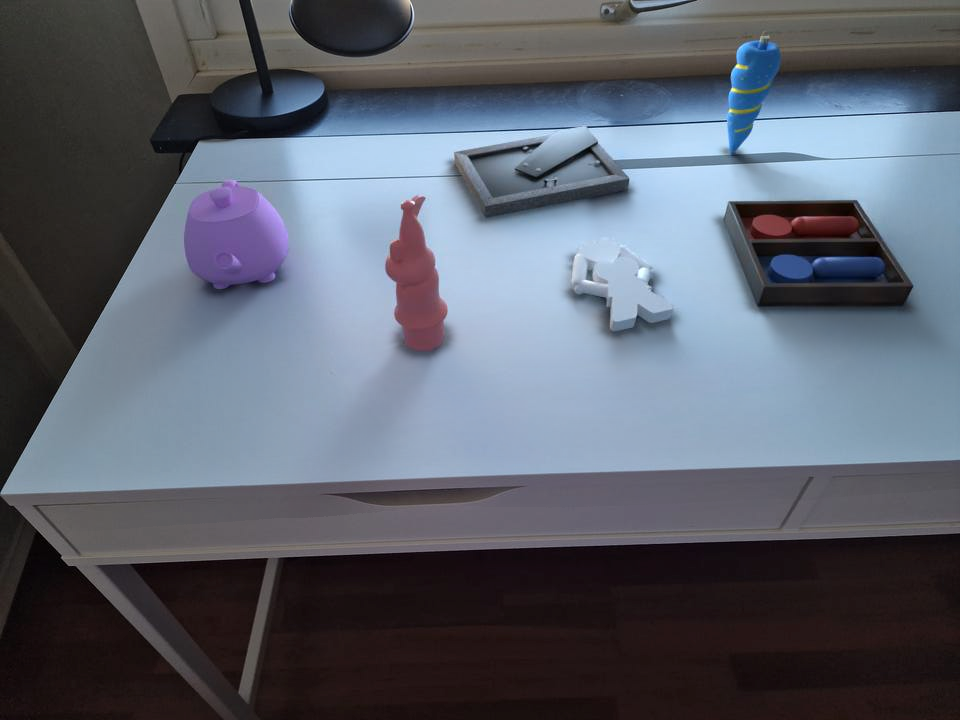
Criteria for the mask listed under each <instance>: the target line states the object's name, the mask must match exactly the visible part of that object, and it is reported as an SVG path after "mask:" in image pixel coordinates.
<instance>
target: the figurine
mask: <svg viewBox="0 0 960 720" xmlns="http://www.w3.org/2000/svg"><path fill="white" fill-rule="evenodd" d="M426 199H427V198H426V197H425V196H423V195H419V194H418V195H415V196H413V197H412V198H410V199H409V200H408V199H407V200H404V201H402V202H401V203H400V209H401V210H402V216H401V220H400V226H399V232H398V238H397V239H394V240H392V241H390V244H389V253H388V255H387V256H386V259H385V263H384V271H385V273H386V275H387V277H388V278H389V279H390V280H391V281H393V282H394V283H396V284H395V299H396V305H395V308H394V309H393V317H394V319H395V321H396V322H397V324H399V325H400V326H401V331H402V337H403V342H404V344H405V345H406V346H407V347H408V348H409V349H411V350H413V351H416V352H429V351H432V350H435V349H437V348H439V347H440V346H441V345H442V344H443V343H444V341H445V338H446V334H445V323H444V320H445V319H446V317H447V316H448V311H449V309H448V305H447V303H446V302H445V300H443V298H441V296H440V276H439V272H438V269H437V268H436V257H435V254H434V252H433V251H432V249H430V248H429V247H428V246H427V243H426V236H425V233H424V229H423V227H422V224H421V222H420V221H419V220H418V217H419V213H420V211H421V209H422V206H423V204H424V202H426Z"/></svg>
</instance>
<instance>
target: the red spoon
mask: <svg viewBox="0 0 960 720" xmlns="http://www.w3.org/2000/svg"><path fill="white" fill-rule="evenodd" d="M858 227H859V223H858V221H857V219H856V218H854V217H851V216H821V217H797V218H795V219H794V220H793V221H792V222H791V224H790V223H789V222H788V221H787V220H786V219H784V218H782V217H779V216H776V215H760V216H758V217H756V218H755V219H754V220H753V223H752V226H751V229H750V233H751V235H752V237H753V238H754V239H789V236H790V233H791V231H792V233H793V234H795V235H798V236H824V235H852V234H854V233H855V232H856V231H857V229H858Z"/></svg>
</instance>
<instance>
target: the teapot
mask: <svg viewBox="0 0 960 720" xmlns="http://www.w3.org/2000/svg"><path fill="white" fill-rule="evenodd" d="M183 245H184V246H183V247H184V254H185V259H186V262H187V265H188V268H189V270H190V271H191V272H192V273H193V274H194V275H195V276H196V277H198V278H200V279H202V280H204V281H207V282H209V283H212V284H213V288H215V289H216V290H217V289H218V290H224V289H226V288H228V287H230V286H231V285H241V284H247V283H251V282H255V281H257V282H258V283H262V284H268V283H270V282H272V281H274V280H275V278H276V273H275V272H277V270H279V269H280V268H281V266H282V264H283V263H284V262H285V259H286V257H287V255H288V251H289V245H290V237H289V233H288V230H287V227H286V225H285V223H284V221H283V219H282V217H281V215H280V214H279V212H278V211H277V210H276V209H275V207H274V206H273V205H272V204H271V203H270V202H269V200H267V199H266V198H265V197H264V196H263V195H262V194H261V193H260V192H258V190H255V188H251V187H248V186H240V185H239V183H238V181H236V180H234V179H226V180H224V181H223V182H222V183H221V186H219V187H216V188H213V189H211V190H207V191H205V192H202V193H200V194H198V195H197V196H196V197H195V198H194V199H193V200H192V201H191V203H190V205H189V209H188V212H187V216H186V220H185V225H184V233H183Z"/></svg>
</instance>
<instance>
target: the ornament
mask: <svg viewBox="0 0 960 720" xmlns="http://www.w3.org/2000/svg"><path fill="white" fill-rule="evenodd" d="M765 32H766V30H765V31H762V34H764V33H765ZM767 32H768V33H770V31H769V30H767ZM781 56H782V55H781V50H780V47H779V46H778V45H777V44H776V43H773V42H770V34H768V35H761V36H760V39H759V40H751V41H748V42H745V43H743V44H742V45H740V47H738V49H737V52H736V65H735V66H734V68H733V69H732V71H731V72H730V73H731V75H730V81H731V82H730V83H731V89H730V91H729V93H728V104H729V105H728V106H729V110H728V112H727V115H726V125H727V126H726V127H727V135H728V149H729V152H730V153H736V152H737V151H738V149H739V148H740V147H741V146H742V145H743V144H744V142H745V141H746V139H747V138H748V137H749V136H750V135H751V133H752V131H753V128H754V122H755V121H756V120H757V118H758V116H759V115H760V113H761V109H762V106H763V102H764V101H765V99H766V98H767V96H768V95H769V93H770V91H771V89H772V82H773V80H774V78H775V77H776V76H777V74H778V71H779V69H780V67H781V61H782V60H781Z"/></svg>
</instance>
